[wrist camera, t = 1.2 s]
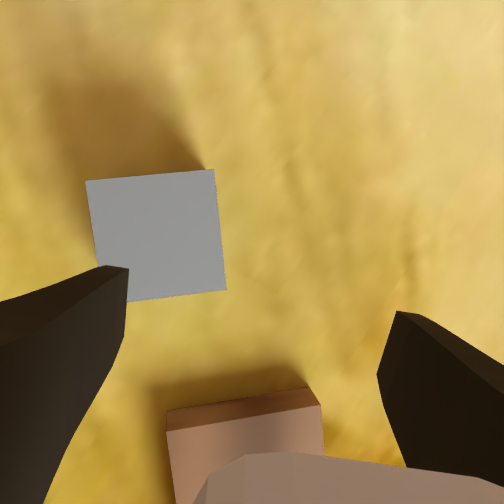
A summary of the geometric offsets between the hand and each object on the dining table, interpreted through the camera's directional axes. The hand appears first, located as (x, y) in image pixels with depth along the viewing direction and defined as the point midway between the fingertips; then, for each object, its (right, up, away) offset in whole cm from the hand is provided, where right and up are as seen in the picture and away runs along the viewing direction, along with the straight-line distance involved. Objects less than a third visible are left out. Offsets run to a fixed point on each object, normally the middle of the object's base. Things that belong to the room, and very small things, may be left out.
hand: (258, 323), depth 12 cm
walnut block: (-1, -10, +14) cm, 17 cm away
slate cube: (-5, +3, +11) cm, 12 cm away
